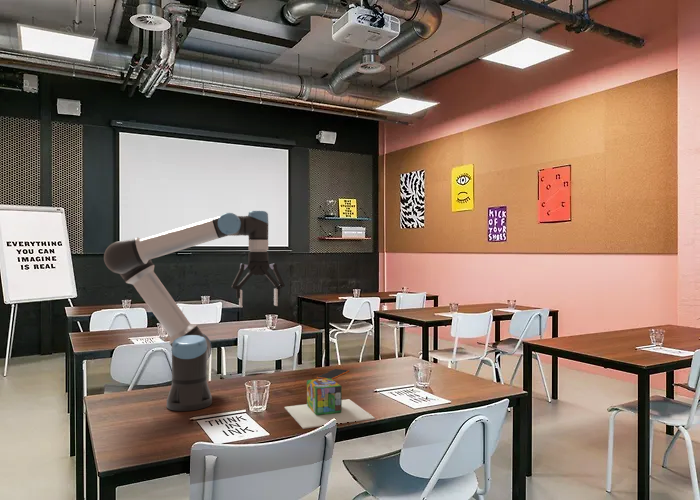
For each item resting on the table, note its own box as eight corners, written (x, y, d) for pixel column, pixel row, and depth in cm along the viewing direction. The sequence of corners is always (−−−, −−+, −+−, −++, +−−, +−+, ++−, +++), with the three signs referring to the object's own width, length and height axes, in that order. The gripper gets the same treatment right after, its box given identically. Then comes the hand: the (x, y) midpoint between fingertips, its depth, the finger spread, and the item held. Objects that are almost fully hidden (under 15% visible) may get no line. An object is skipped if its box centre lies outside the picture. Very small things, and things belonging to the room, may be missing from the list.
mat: (303, 428, 154) (303, 427, 154) (284, 407, 174) (284, 406, 174) (374, 418, 163) (374, 417, 163) (349, 400, 183) (349, 399, 183)
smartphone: (316, 378, 215) (316, 376, 215) (334, 370, 230) (334, 368, 230) (331, 380, 212) (331, 378, 212) (349, 372, 227) (349, 370, 227)
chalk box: (306, 379, 175) (317, 389, 161) (331, 377, 178) (345, 387, 164) (306, 406, 175) (317, 419, 161) (331, 404, 178) (345, 416, 164)
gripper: (287, 251, 203) (287, 304, 203) (224, 251, 193) (223, 306, 193) (292, 251, 196) (292, 305, 196) (227, 251, 186) (226, 308, 186)
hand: (258, 306), depth 195 cm, fingers open, 13 cm apart
